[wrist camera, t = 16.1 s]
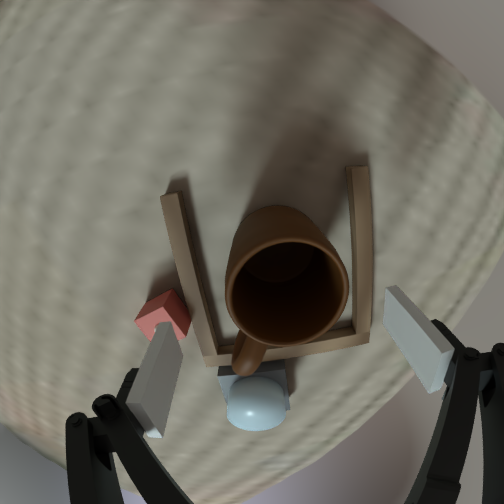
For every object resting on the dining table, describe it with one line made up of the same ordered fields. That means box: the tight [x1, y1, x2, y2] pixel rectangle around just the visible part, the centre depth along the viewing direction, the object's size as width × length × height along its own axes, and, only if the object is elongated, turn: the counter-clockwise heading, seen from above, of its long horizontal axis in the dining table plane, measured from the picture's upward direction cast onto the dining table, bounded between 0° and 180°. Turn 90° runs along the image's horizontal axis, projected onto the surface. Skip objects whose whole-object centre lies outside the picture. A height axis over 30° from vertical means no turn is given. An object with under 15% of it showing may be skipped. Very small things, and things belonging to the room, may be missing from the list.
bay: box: [160, 165, 373, 367], centre depth 25 cm, size 17×18×2 cm
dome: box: [227, 376, 286, 431], centre depth 27 cm, size 6×6×3 cm
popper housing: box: [217, 359, 290, 410], centre depth 30 cm, size 7×7×2 cm
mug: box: [225, 206, 349, 376], centre depth 21 cm, size 12×8×9 cm, turn 157°
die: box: [134, 288, 191, 342], centre depth 25 cm, size 4×4×4 cm
